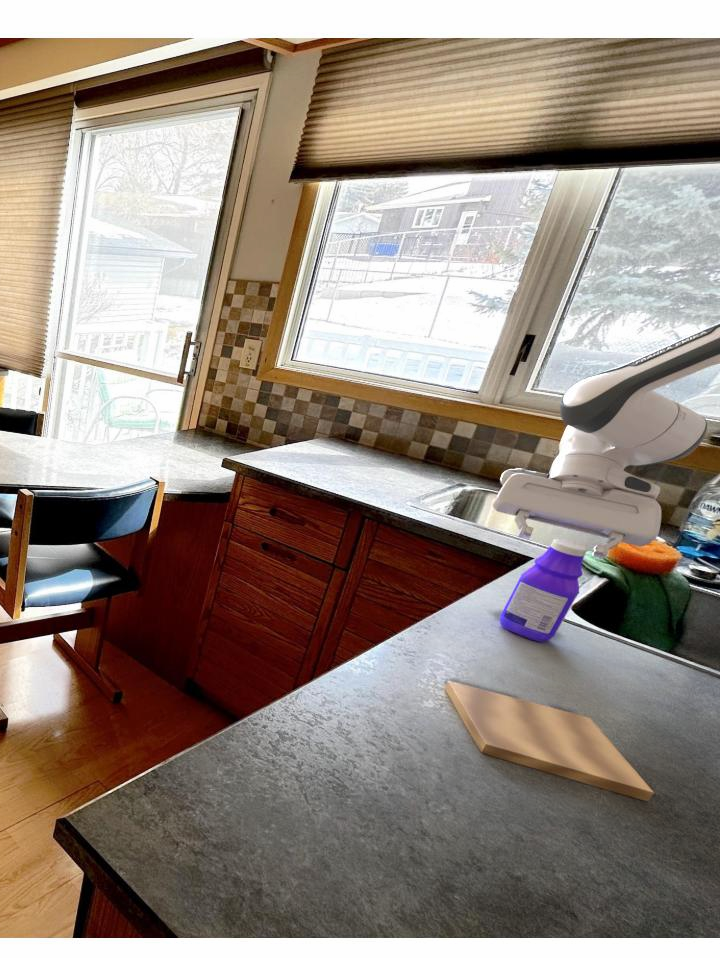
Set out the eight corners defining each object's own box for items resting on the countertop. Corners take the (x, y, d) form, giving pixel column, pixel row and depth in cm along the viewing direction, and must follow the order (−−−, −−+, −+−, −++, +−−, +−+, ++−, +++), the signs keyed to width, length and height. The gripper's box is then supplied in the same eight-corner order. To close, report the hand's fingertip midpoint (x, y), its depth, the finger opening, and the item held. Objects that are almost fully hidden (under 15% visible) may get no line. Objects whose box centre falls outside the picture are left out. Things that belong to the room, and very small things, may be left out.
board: (584, 726, 84) (589, 717, 84) (648, 802, 72) (654, 792, 72) (444, 688, 90) (448, 680, 89) (481, 753, 78) (486, 744, 77)
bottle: (555, 638, 105) (604, 549, 99) (547, 648, 102) (596, 556, 96) (502, 617, 111) (544, 531, 104) (492, 626, 108) (535, 537, 101)
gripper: (510, 456, 113) (487, 518, 110) (675, 490, 100) (654, 560, 97) (500, 474, 118) (477, 533, 114) (656, 508, 105) (636, 576, 102)
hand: (560, 546), depth 105 cm, fingers open, 8 cm apart
